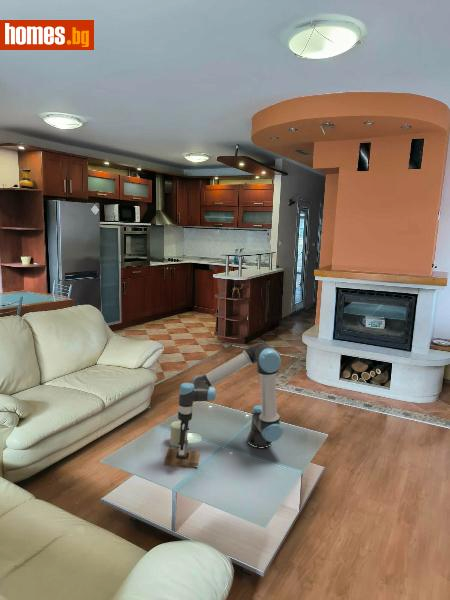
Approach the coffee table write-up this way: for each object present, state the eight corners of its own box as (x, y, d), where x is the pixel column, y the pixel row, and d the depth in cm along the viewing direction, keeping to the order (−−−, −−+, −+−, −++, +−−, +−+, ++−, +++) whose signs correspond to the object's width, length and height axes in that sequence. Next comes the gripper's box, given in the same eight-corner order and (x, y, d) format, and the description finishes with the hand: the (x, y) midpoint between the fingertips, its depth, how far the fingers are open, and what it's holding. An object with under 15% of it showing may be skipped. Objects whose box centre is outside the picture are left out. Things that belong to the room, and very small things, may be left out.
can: (182, 447, 237) (183, 428, 235) (167, 445, 239) (168, 426, 237) (187, 440, 246) (188, 421, 244) (172, 437, 248) (173, 419, 246)
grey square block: (186, 458, 227) (187, 440, 225) (185, 463, 222) (187, 444, 220) (178, 457, 227) (179, 439, 225) (177, 462, 222) (178, 443, 220)
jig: (199, 455, 230) (200, 447, 230) (197, 468, 219) (198, 459, 218) (167, 453, 231) (168, 445, 230) (164, 465, 219) (164, 456, 218)
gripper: (181, 401, 232) (179, 435, 236) (175, 422, 207) (172, 460, 211) (194, 402, 232) (192, 436, 235) (189, 423, 207) (187, 461, 211)
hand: (183, 447), depth 223 cm, fingers open, 13 cm apart
